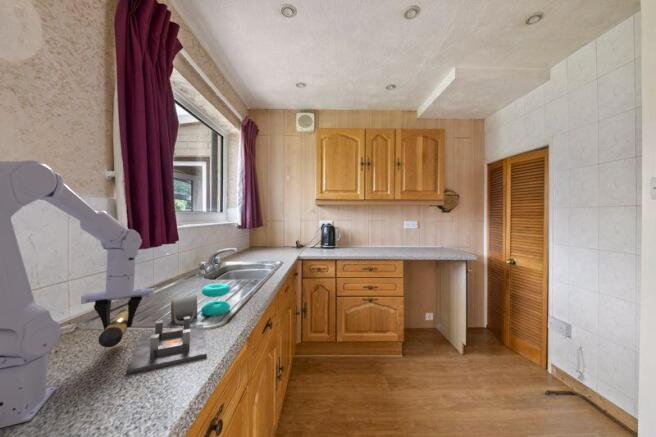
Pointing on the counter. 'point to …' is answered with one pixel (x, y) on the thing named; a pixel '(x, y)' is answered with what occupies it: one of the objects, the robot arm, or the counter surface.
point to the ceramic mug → (184, 308)
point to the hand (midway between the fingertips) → (118, 327)
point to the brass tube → (114, 330)
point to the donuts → (215, 306)
